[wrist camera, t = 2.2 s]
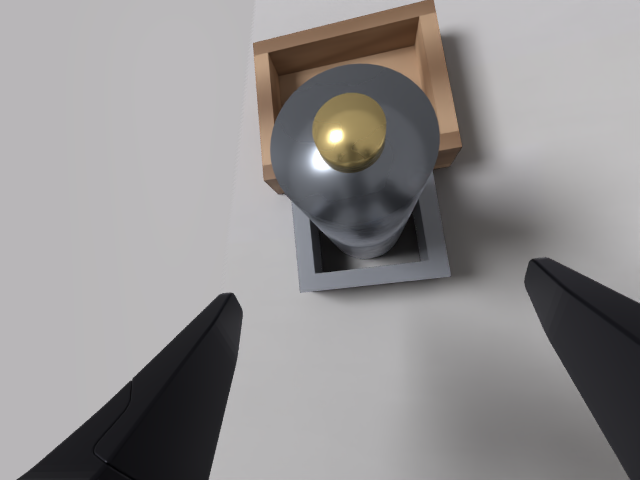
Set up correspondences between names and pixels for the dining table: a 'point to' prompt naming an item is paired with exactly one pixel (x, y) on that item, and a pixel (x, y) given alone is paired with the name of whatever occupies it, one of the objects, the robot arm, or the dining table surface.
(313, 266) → the tray
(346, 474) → the dining table surface
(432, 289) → the dining table surface
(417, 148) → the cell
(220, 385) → the robot arm
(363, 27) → the wooden tray
